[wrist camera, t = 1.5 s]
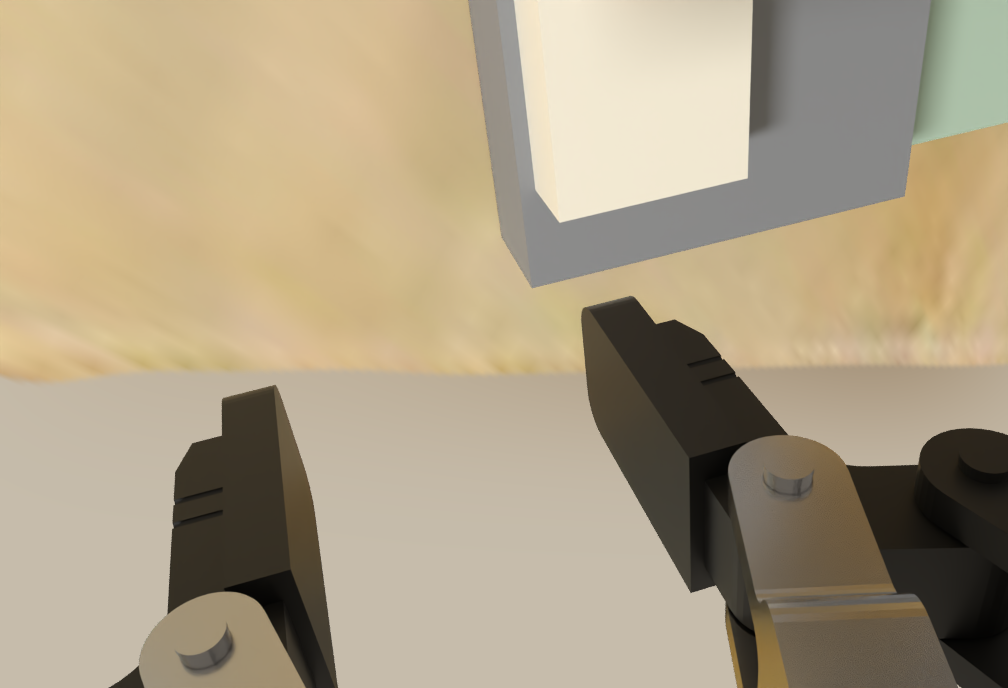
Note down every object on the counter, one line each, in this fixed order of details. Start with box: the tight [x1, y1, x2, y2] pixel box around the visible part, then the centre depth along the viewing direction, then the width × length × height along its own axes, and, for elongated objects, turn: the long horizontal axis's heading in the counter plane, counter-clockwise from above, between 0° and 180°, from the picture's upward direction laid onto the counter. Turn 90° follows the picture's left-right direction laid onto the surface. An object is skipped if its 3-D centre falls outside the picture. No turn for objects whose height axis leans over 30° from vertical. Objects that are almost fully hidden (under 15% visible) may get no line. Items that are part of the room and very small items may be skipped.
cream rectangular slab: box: [514, 0, 753, 223], centre depth 25 cm, size 9×6×4 cm, turn 7°
